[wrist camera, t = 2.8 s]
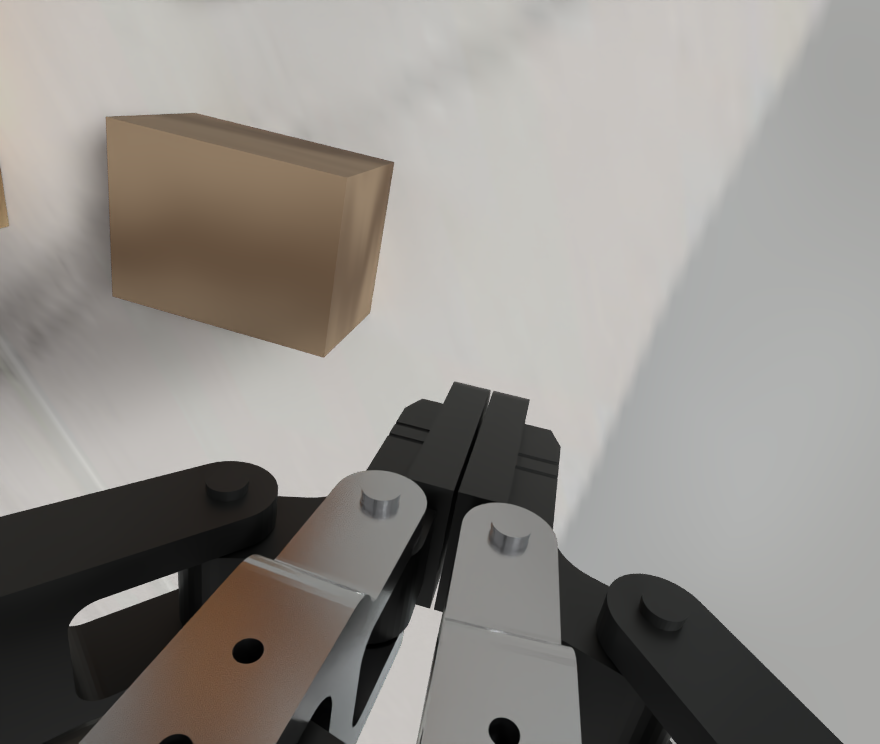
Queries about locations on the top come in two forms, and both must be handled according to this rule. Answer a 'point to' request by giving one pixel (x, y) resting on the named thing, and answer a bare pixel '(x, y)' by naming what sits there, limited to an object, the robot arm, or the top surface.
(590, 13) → the top surface
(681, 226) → the top surface
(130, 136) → the walnut block
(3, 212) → the oak board
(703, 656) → the robot arm
